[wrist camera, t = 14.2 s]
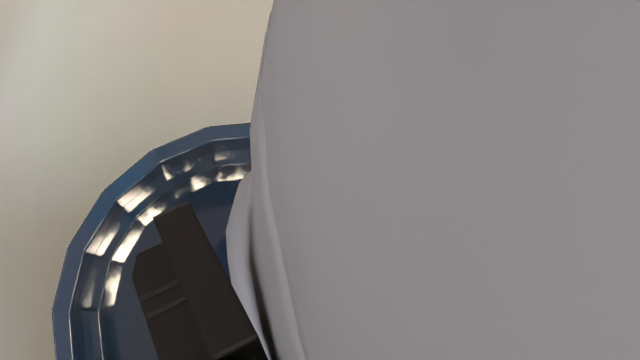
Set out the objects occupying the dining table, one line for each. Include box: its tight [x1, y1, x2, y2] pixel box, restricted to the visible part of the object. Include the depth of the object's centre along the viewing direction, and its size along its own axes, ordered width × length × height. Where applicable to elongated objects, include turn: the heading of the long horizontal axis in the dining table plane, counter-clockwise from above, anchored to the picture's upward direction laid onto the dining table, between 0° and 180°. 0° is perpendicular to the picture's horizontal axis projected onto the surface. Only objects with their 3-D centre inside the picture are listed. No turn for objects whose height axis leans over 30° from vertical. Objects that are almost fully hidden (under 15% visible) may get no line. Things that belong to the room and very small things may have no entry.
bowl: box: [52, 123, 252, 360], centre depth 31 cm, size 19×19×6 cm
